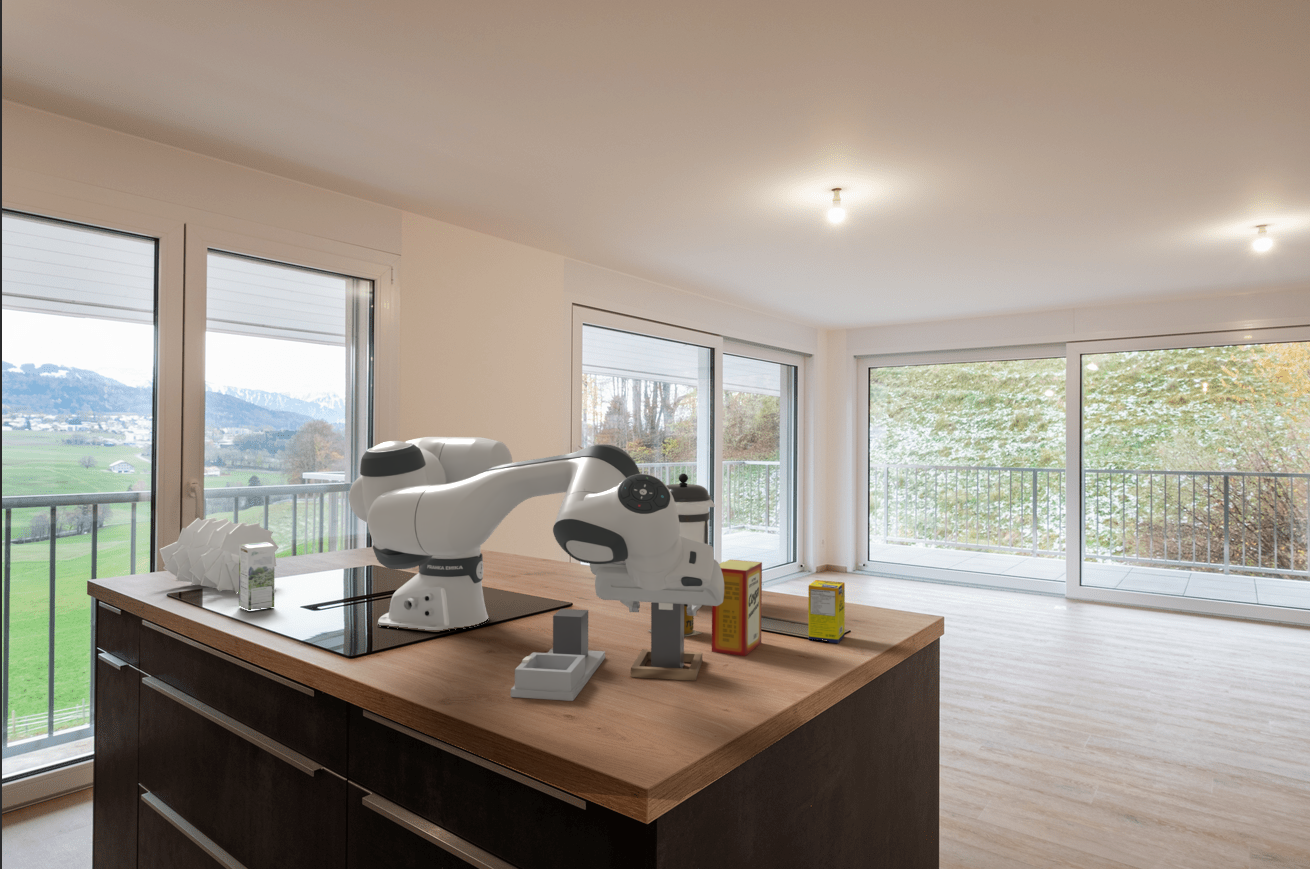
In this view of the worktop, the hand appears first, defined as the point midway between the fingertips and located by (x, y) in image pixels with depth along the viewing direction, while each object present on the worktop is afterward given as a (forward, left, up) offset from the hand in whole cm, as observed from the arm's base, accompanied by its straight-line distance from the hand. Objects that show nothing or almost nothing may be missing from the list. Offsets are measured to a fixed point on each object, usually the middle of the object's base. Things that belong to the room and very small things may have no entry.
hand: (663, 610), depth 131 cm
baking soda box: (+11, +23, -12) cm, 28 cm away
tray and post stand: (-17, +1, -12) cm, 21 cm away
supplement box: (+28, +32, -12) cm, 44 cm away
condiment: (-2, +31, -12) cm, 34 cm away
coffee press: (-5, +58, -12) cm, 60 cm away
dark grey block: (0, +8, -12) cm, 15 cm away
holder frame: (0, +8, -12) cm, 15 cm away
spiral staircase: (-119, +51, -12) cm, 130 cm away
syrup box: (-97, +34, -12) cm, 104 cm away
